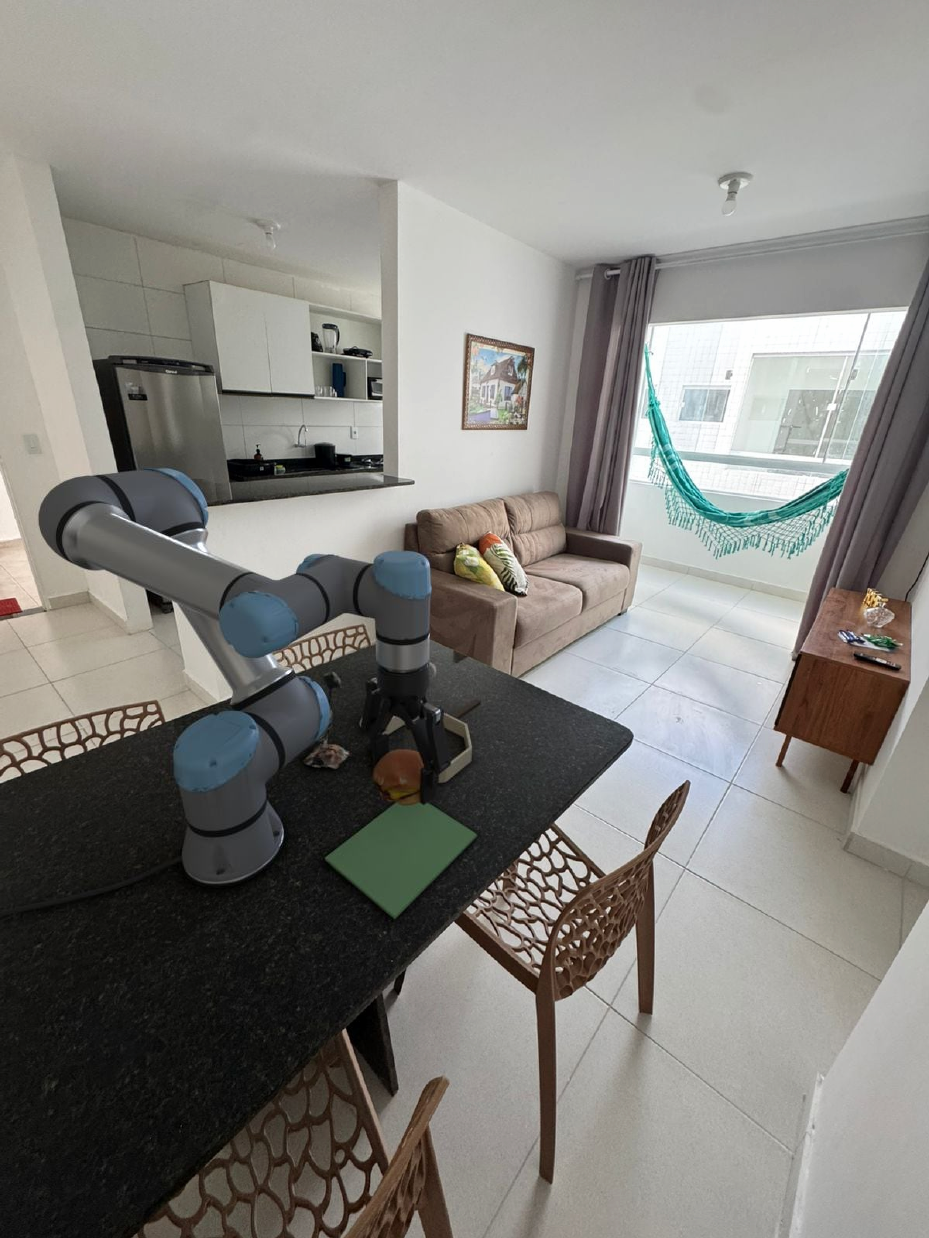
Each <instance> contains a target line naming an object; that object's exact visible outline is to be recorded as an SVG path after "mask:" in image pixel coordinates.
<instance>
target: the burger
mask: <svg viewBox="0 0 929 1238" xmlns="http://www.w3.org/2000/svg"><path fill="white" fill-rule="evenodd" d="M423 767H424V765H423V762H422V759H421V757H420V754H419V751H418V750H412V749H403V748H402V749H394V750H391V751H389V753H387V754H386V755H384V756H383V757H382V758H381V759H380V760H379V762H378V763H377V765H376V766H375V768H374V767H373V772H372V780H373V781H374V790H375V791H377V792H379V795H380V797H381V798H382V799H383V800H386V801H387V802H390V803H392V802H394V803H396V802H397V803H398V804H400V805H402V806H408V805H413V804H416V803H419V802H420V769H421V768H423Z"/></svg>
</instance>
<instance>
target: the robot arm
mask: <svg viewBox="0 0 929 1238" xmlns="http://www.w3.org/2000/svg"><path fill="white" fill-rule="evenodd" d="M45 495H46V496H45V497H44V498H43V500H42V501H41V503H40V506H39V510H38V515H37V516H38V518H37V520H38V523H37V524H38V528H39V531H40V534H41V536H42V538H43V539H44V541H45V543H46V545H47V546H48V547H49V548H50V549H51V550H52V551H53V552H54V553H55V554H56V555H57V556H58V557H60V558H62V559H63V560H65V561H66V562H68V563H70V564H73V565H75V566H77V567H79V568H81V569H84V570H87V571H98V572H99V571H106V572H108V573H110V574H113V575H114V576H116V577H118V578H121V579H123V580H125V581H127V582H130V583H132V584H134V585H136V586H139V587H141V588H143V589H145V590H147V591H149V592H152V593H154V594H156V595H158V596H160V597H162V598H165V599H167V600H169V601H171V602H173V603H175V604H177V606H178V608H179V609H180V610H181V612H182V613H183V615H184V617H185V619H186V620H187V621H188V623H189V624H190V626H191V627H192V630H193V631H194V633H195V634H196V636H197V637H198V639H199V640H200V643H202V645H203V647H204V648H205V650H206V651H207V653H208V654H209V656H210V658H211V659H212V661H213V662H214V664H215V666H216V667H217V668H218V670H219V671H220V674H221V675H222V676H223V678H224V679H225V681H226V683H227V685H228V687H230V689H231V691H232V695H231V699H230V701H229V706H230V707H231V708H232V710H222V711H219V713H217V714H216V715H215V714H214V713H211V714H208V715H206V716H203V717H202V718H199V719H198V720H196V721H194V722H193V723H192V724H190V725H189V726H188V727H187V728H186V729H185V730H184V731H183V732H182V733H181V734H180V735H179V737H178V738H177V740H176V742H175V744H174V748H173V753H172V758H173V775H174V778H175V781H176V783H177V786H178V790H179V793H180V797H181V802H182V806H183V811H184V814H185V819H186V822H187V826H186V831H185V835H184V841H183V845H182V850H181V855H180V856H177V857H175V858H172V859H170V860H168V861H166V862H164V863H161V864H159V865H157V866H155V867H152V868H151V869H148V870H146V871H145V872H142V873H141V874H138V875H135V876H133V877H130V878H128V879H125V880H123V881H119V882H116V883H113V884H111V885H107V886H104V887H100V888H96V889H92V890H88V891H84V892H81V893H76V894H73V895H68V896H65V897H60V898H59V897H58V898H56V899H51V900H46V901H40V902H36V903H31V904H26V905H22V906H16V907H13V908H9V909H5V910H1V911H0V918H5V917H8V916H12V915H15V914H20V913H24V912H28V911H29V912H30V911H33V910H39V909H44V908H49V907H53V906H59V905H63V904H66V903H70V902H75V901H78V900H83V899H87V898H91V897H94V896H98V895H101V894H105V893H108V892H111V891H114V890H115V891H116V890H117V889H118V890H119V889H121V888H124V887H127V886H130V885H132V884H135V883H137V882H139V881H142V880H144V879H146V878H148V877H150V876H152V875H154V874H156V873H158V872H161V871H163V870H165V869H168V868H169V867H171V866H174V865H176V864H178V863H181V862H182V866H183V870H184V874H185V875H186V876H187V878H188V879H189V880H190V881H191V882H192V883H194V884H196V885H197V886H200V887H202V888H206V889H226V888H232V887H236V886H239V885H242V884H244V883H247V882H249V881H252V880H254V879H255V878H256V877H258V876H259V875H261V874H262V873H264V872H265V871H266V870H268V869H269V868H270V867H271V866H272V865H273V864H274V862H275V861H276V860H277V858H279V856H280V854H281V852H282V849H283V846H284V842H285V832H284V826H283V823H282V820H281V818H280V817H279V815H278V813H277V812H276V811H275V809H274V807H273V806H272V805H271V803H270V801H269V800H268V796H267V789H266V783H267V782H268V781H269V780H270V779H271V778H272V777H274V776H275V775H276V774H277V773H278V772H280V771H281V770H282V769H283V768H285V767H286V766H287V765H288V764H289V763H290V762H292V761H293V760H294V759H295V758H297V756H299V755H300V754H302V752H304V751H305V750H306V749H308V748H310V747H312V746H313V745H314V744H315V743H316V742H315V741H316V740H317V738H318V737H320V736H321V735H322V734H323V733H324V731H325V730H326V728H327V726H328V724H329V718H330V710H331V706H330V707H329V699H328V697H327V695H326V693H325V691H324V689H323V688H322V687H321V686H320V684H318V682H316V681H312V679H311V678H310V677H308V676H305V675H297V673H296V672H295V670H294V669H293V668H292V667H289V666H284V665H281V664H280V663H279V662H278V660H277V658H276V657H275V655H274V652H278V651H281V650H283V649H285V648H287V647H288V646H290V645H291V644H292V643H294V642H296V641H297V640H299V639H301V638H302V637H304V636H306V635H308V634H310V633H311V632H313V631H315V630H316V629H318V628H320V627H323V626H324V625H326V624H327V623H329V622H331V621H333V620H336V618H339V617H341V616H342V615H344V614H350V615H354V616H358V617H362V618H366V619H367V618H369V619H373V620H374V626H375V627H374V629H375V660H376V676H375V677H374V678H371V679H369V680H368V681H366V682H365V694H366V695H365V700H364V706H363V710H362V717H361V718H362V721H361V727H360V729H361V731H362V732H367V733H368V737H369V738H370V747H371V748H370V750H371V753H372V756H373V757H374V761H373V769H374V768H375V766H376V765H377V763H378V762H379V760H380V759H381V758H382V757H383V756H384V755H386V754H387V753H389V752H390V741H389V738H390V737H389V734H388V735H387V734H386V733H385V734H383V735H382V733H383V732H385V731H387V730H388V729H387V726H388V725H389V723H390V721H391V720H392V718H393V716H396V717H399V718H400V719H402V720H403V721H404V722H405V725H404V726H405V728H406V730H407V731H410V733H411V735H412V738H413V741H414V743H415V746H416V749H417V752H419V754H420V757H421V759H422V762H423V765H424V767H423V768H421V769H420V803H421V804H423V805H425V804H426V803H429V801H431V800H432V799H433V798H434V797H436V788H437V787H436V786H437V785H438V784H439V783H438V782H439V774H440V773H442V772H443V771H444V770H446V769H447V768H448V767H449V766H450V765H451V761H452V760H451V756H450V750H449V745H448V740H447V733H446V728H444V723H443V718H444V713H445V708H444V707H443V705H438V706H433V705H432V704H430V703H429V699H428V697H427V690H428V687H429V684H430V680H429V676H430V667H429V662H430V661H429V660H430V648H431V647H430V643H431V642H430V638H431V637H430V635H431V633H430V632H431V630H430V628H431V626H430V621H431V620H430V617H431V616H430V615H431V596H432V591H433V588H432V581H431V564H430V562H429V560H428V558H427V557H426V556H425V555H423V554H422V553H419V552H415V551H412V550H388V551H384V552H381V553H379V554H377V555H376V556H375V558H374V559H373V562H367V561H362V560H358V559H352V558H347V557H343V556H340V555H335V554H332V553H331V554H330V553H328V554H324V553H312V554H310V555H307V556H305V558H304V559H303V561H302V562H301V563H299V564H298V566H297V568H296V571H295V573H293V574H291V575H288V576H286V577H283V578H281V579H272V578H270V577H267V576H265V575H263V574H259V573H258V572H254V571H252V570H250V569H248V568H245V567H243V566H240V565H238V564H236V563H233V562H231V561H228V560H226V559H224V558H221V557H219V556H216V555H214V554H211V551H210V550H209V549H208V547H207V545H206V543H207V540H208V537H209V531H208V529H207V528H206V526H207V524H208V523H209V513H210V512H209V511H208V510H207V508H208V503H207V500H206V498H205V496H204V495H203V492H202V491H201V488H200V487H198V485H197V484H196V483H195V482H194V481H193V480H192V479H191V478H190V477H189V476H187V475H186V474H185V473H183V472H181V471H178V470H176V469H172V468H167V467H163V468H162V467H161V468H155V467H144V468H140V469H138V470H137V469H135V470H129V471H128V470H127V471H119V472H110V473H104V474H103V473H101V474H92V475H81V476H75V477H72V478H70V479H69V478H68V479H66V480H64V481H62V482H60V483H59V484H57V485H55V486H54V487H53V488H51V489H50V490H49V491H48V493H47V494H45ZM382 700H383V701H382ZM382 702H383V703H382ZM418 716H419V719H417V720H416V721H414V722H413V721H412V720H414V719H415V718H417V717H418ZM386 729H387V730H386ZM373 757H372V758H373Z"/></svg>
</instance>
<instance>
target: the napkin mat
mask: <svg viewBox="0 0 929 1238" xmlns="http://www.w3.org/2000/svg"><path fill="white" fill-rule="evenodd" d="M477 837H478V835H477V833H476V832H474V831H473V830H471V829H470V828H468V827H466V826H465V825H463V824H462V823H460V822H458V821H457V820H455V819H454V818H452V817H451V816H449V815H448V814H446V813H445V812H443V811H442V810H440V809H438V808H437V807H435V806H434V805H432V804H431V803H429V802H427V803H426V804H425V805H423V804H421V803H420V802H419V803H416V804H413V805H408V806H402V805H400V804H398V803H397V802H394V803H393V804H392V805H391V806H389V807H388V808H387V809H386V810H384V811H383V812H381V813H380V814H378V816H377V817H375V818H374V819H373V820H371V821H370V822H369V823H368V824H366V825H365V826H364V827H362V828H361V829H360V830H359V831H357V832H356V833H355V834H353V835H352V836H351V837H350V838H348V839H346V840H345V841H344V842H343V843H342V844H340V845H339V846H338V847H337V848H336V849H334V850H333V851H331V852H330V853H329V854H327V856H325V857H324V861H325V862H326V863H328V864H329V865H330V866H331V867H332V868H333V869H335V870H336V871H337V872H338V873H339V874H340V875H342V876H343V877H344V878H345V879H346V880H347V881H349V882H350V883H351V884H352V885H354V887H356V888H357V889H358V890H359V891H361V892H362V894H364V895H365V897H367V898H369V899H370V900H371V901H372V902H374V904H376V906H378V907H379V908H380V909H381V910H383V911H384V912H385V913H386V914H387V915H389V916H390V917H391V918H392V919H394V920H396V919H397V918H398V917H399V916H400V915H401V914H402V913H403V912H404V911H405V910H406V909H407V908H408V907H409V906H410V905H411V904H412V903H413V902H414V901H415V900H416V899H417V898H418V897H419V896H420V895H421V894H422V893H423V892H424V891H425V890H426V889H427V888H428V887H429V885H431V884H432V883H433V882H434V880H435V879H436V878H438V876H440V875H441V873H443V872H444V871H445V870H446V868H448V867H449V866H450V864H452V863H453V862H454V860H456V858H457V857H458V856H460V855H461V854H462V853H463V852H464V851H465V849H466V848H468V846H469V845H470V844H472V842H473V841H475V839H477Z"/></svg>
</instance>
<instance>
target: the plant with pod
mask: <svg viewBox="0 0 929 1238" xmlns="http://www.w3.org/2000/svg"><path fill="white" fill-rule="evenodd" d="M322 679H323V681H324V684H325V686H326V687H327V688H328V703H329V707H330V708H331V698H332V692H333V691H332V690H333V689H334V688H336V689H339V690H340V691H341V692H342V691H344V689H343V688H342V686H341V685H342V680H341V678H339V676H338V675H337V673H335V672H334V671H329V672H326V673H325V674H323V675H322ZM333 719H334V714H333V710H332V709H330V718H329V724H328V726H327V728H326V730H325V731H324V733H323V734H322V735H321V736H320V737H318V738H317V740H316V741H315V742H314V743H318V744H317V745H315V747H314V748H313V750H312V751H311V752H310V754H308V756H307V757H306V758H304V760H303V763H304V765H308V766H311V767H314V768H322V767H324V768H328V767H329V768H331V769H334V770H336V769H338V768H340V766H342V764H343V763H345V760H346V759H348V758H349V757H351V756H352V755H353V753H352V751H351V750H348V749H347V750H346V749H345V748H343V747H342V746H340V745H337V744H334V743H333V744H332V743H331V744H330V734H331V732H332V729H333Z"/></svg>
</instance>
